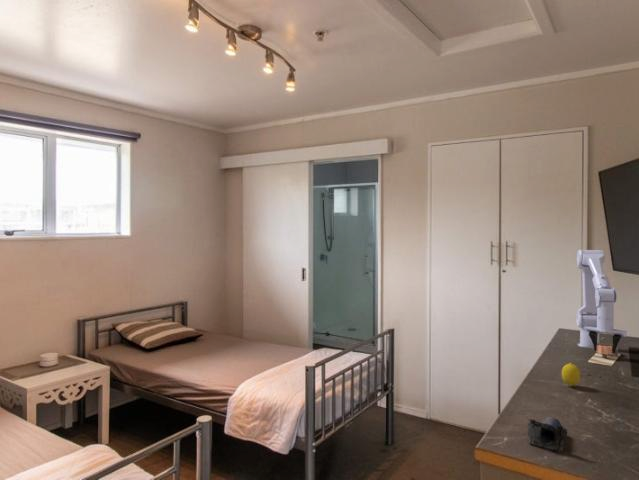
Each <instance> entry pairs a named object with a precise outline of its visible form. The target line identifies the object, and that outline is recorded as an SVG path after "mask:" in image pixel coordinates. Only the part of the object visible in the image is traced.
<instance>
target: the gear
mask: <svg viewBox="0 0 639 480" xmlns="http://www.w3.org/2000/svg"><path fill="white" fill-rule="evenodd" d="M612 350H613V344H612V345H611V344H608V343H600V342H599V343H598V344H596V352H595V353H597V352H599V353H600V354H607V355H608V354H613V353H612Z"/></svg>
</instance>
